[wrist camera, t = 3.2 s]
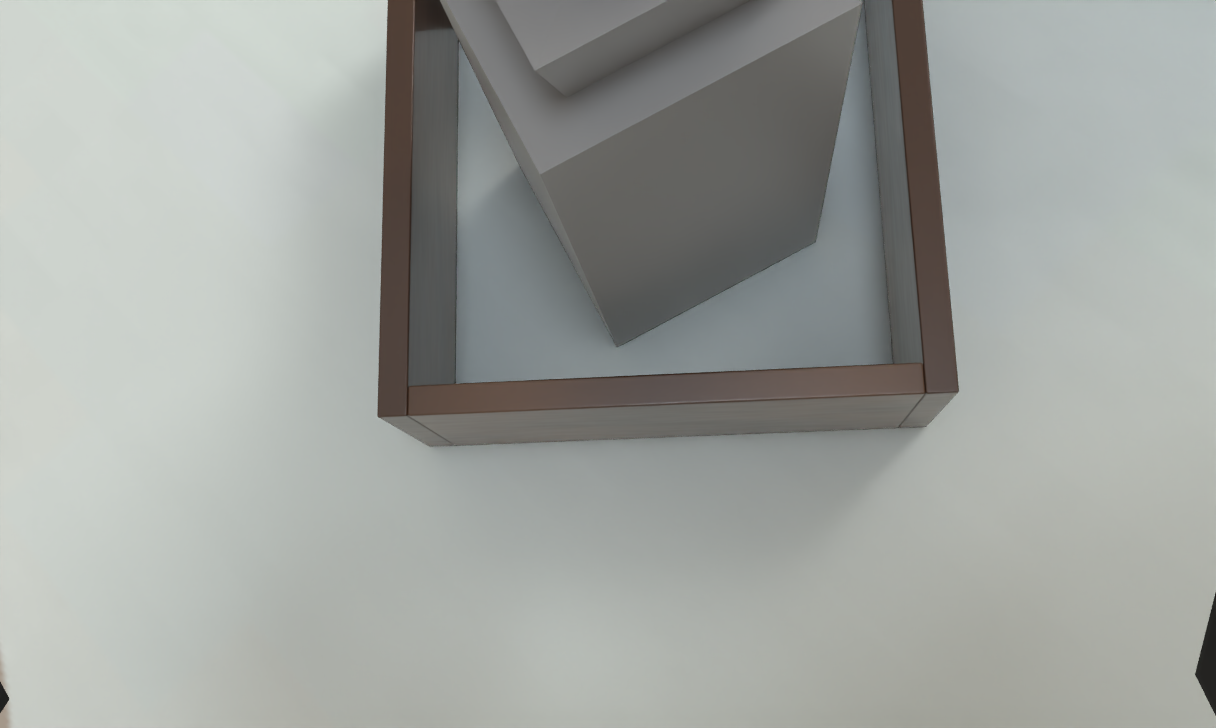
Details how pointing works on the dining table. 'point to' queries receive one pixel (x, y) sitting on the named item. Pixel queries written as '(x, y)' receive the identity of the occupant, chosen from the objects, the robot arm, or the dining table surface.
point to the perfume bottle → (667, 134)
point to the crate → (663, 403)
